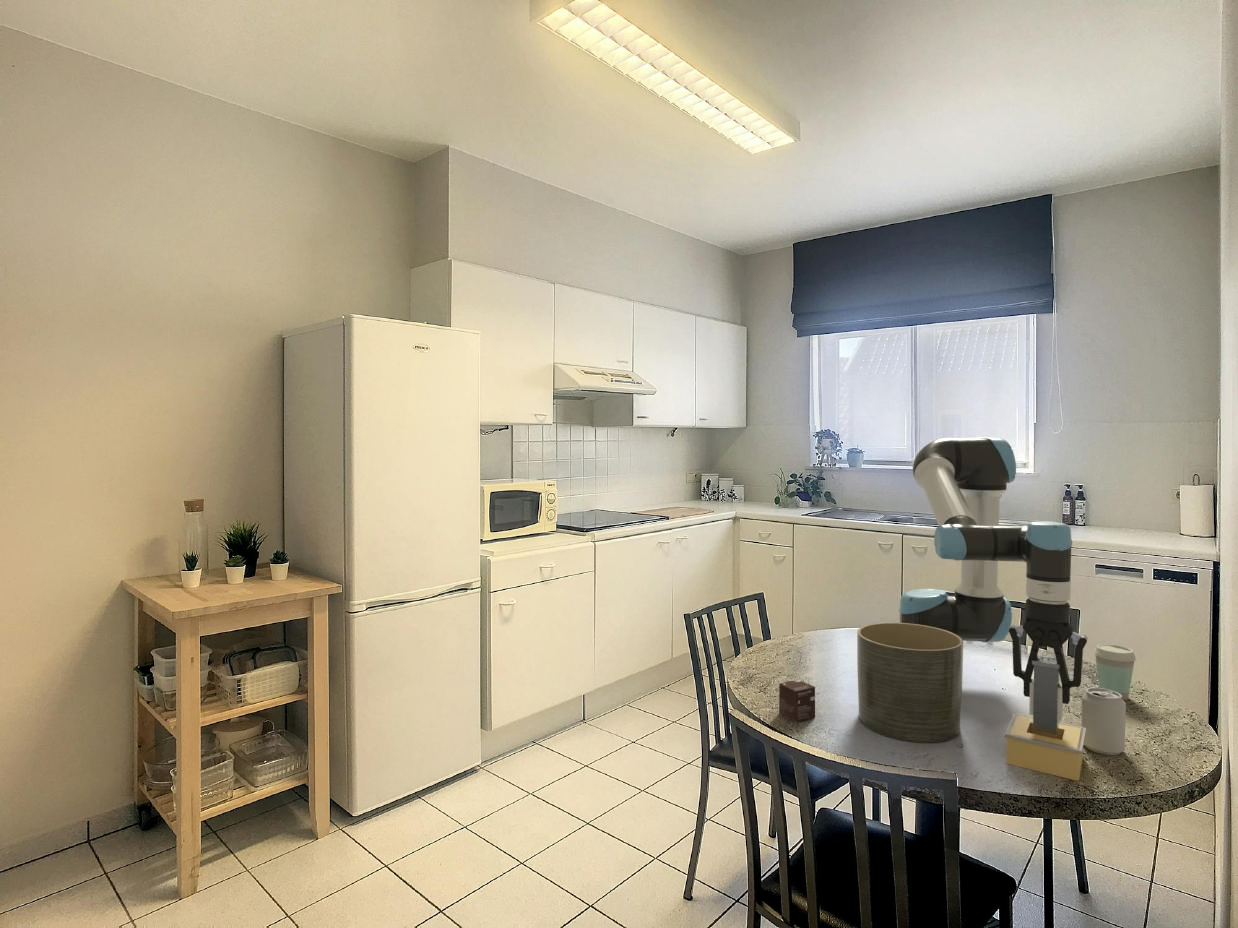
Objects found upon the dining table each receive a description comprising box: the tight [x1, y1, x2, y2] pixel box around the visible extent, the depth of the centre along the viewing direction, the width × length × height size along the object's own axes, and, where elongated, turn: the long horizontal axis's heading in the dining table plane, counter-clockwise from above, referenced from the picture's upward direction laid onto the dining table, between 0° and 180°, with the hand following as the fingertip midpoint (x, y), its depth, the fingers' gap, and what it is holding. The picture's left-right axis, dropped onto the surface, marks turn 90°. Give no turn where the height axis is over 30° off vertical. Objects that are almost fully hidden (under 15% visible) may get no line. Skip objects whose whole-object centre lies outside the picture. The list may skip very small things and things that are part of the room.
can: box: [1080, 687, 1127, 756], centre depth 143 cm, size 8×8×12 cm
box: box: [778, 679, 816, 723], centre depth 162 cm, size 6×6×7 cm
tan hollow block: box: [1004, 712, 1086, 782], centre depth 138 cm, size 13×13×6 cm
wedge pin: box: [1032, 654, 1060, 735], centre depth 138 cm, size 5×5×14 cm
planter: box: [856, 622, 964, 744], centre depth 157 cm, size 22×22×20 cm
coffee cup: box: [1093, 643, 1137, 701], centre depth 172 cm, size 8×9×12 cm
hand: (1046, 715), depth 138 cm, fingers closed on wedge pin, 4 cm apart
